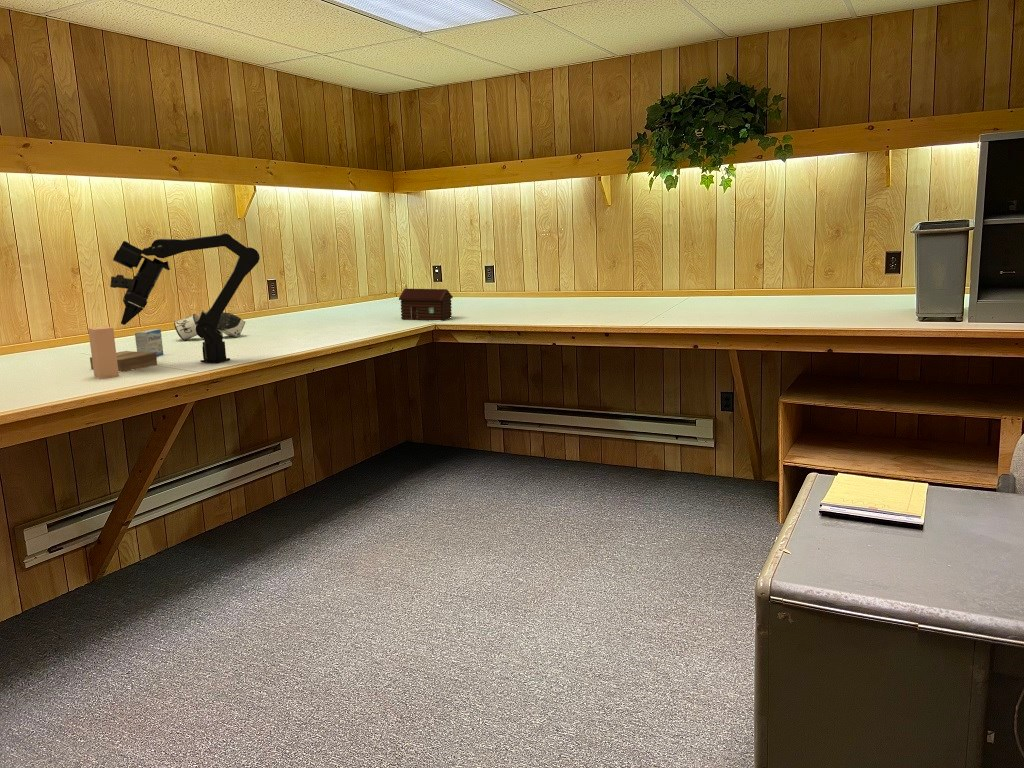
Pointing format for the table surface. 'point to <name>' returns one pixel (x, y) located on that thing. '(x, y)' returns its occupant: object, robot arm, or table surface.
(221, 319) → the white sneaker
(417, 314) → the model building
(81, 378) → the table surface
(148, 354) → the walnut block
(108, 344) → the terracotta block
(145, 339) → the medicine box
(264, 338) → the table surface
